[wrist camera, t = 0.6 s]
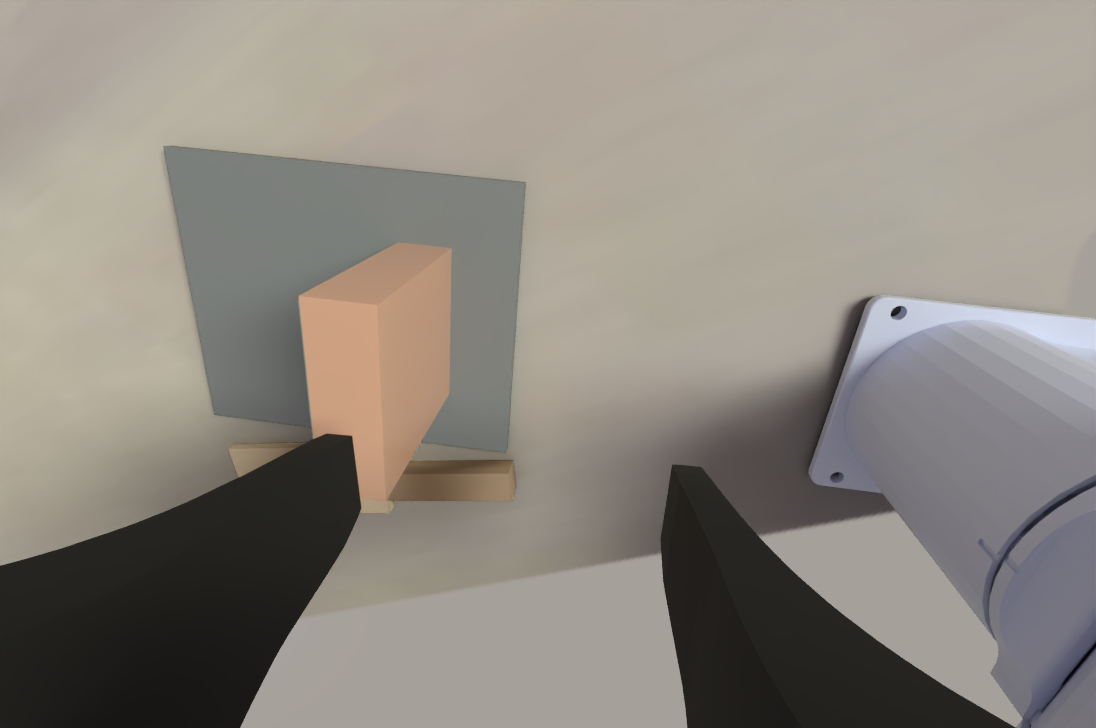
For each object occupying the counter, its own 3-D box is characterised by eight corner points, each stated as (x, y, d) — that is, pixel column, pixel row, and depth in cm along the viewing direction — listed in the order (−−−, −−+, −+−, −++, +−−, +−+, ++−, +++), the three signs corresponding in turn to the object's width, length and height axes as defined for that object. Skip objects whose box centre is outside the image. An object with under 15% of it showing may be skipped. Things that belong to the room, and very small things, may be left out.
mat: (525, 182, 19) (524, 183, 18) (507, 447, 23) (505, 452, 23) (171, 145, 19) (163, 146, 19) (220, 410, 24) (214, 414, 24)
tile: (451, 248, 20) (376, 305, 13) (449, 393, 22) (385, 501, 16) (394, 241, 20) (292, 295, 13) (398, 387, 22) (314, 491, 16)
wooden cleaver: (510, 438, 23) (505, 451, 22) (518, 506, 24) (515, 520, 23) (234, 442, 25) (220, 454, 24) (257, 506, 26) (245, 519, 25)
